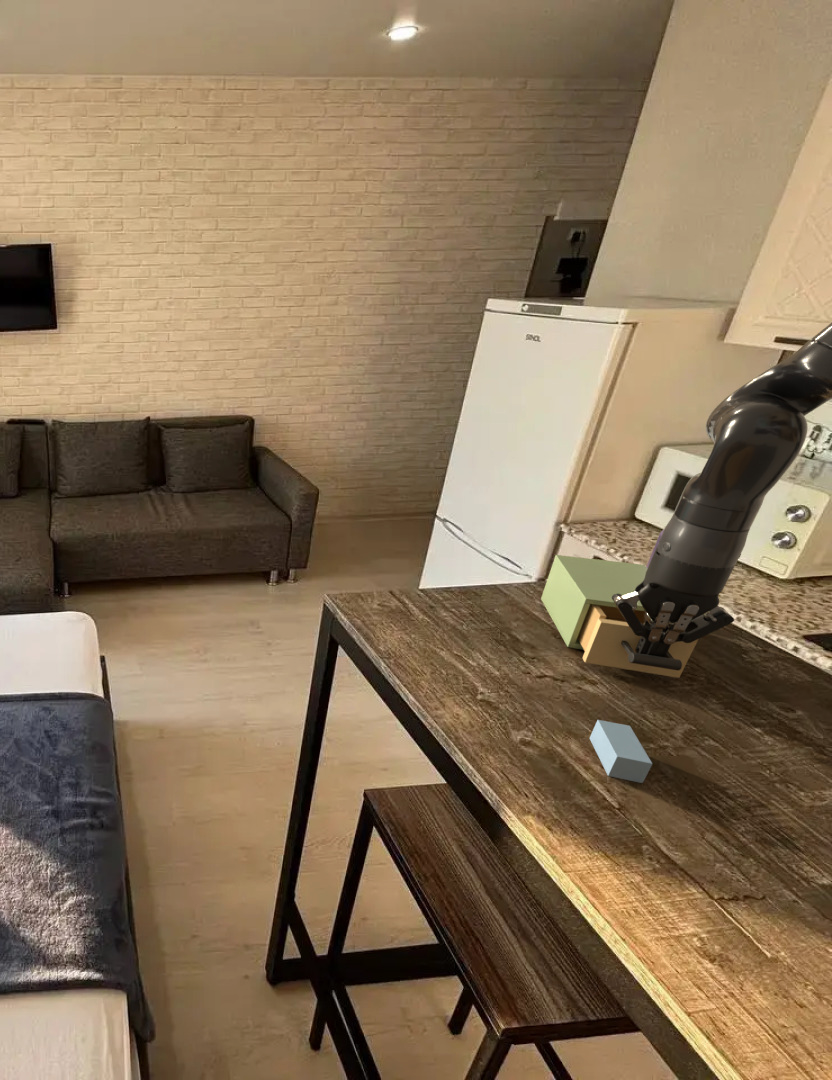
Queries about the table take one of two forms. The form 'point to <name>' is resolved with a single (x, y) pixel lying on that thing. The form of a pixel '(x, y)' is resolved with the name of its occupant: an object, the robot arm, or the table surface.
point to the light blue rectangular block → (620, 751)
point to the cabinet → (586, 590)
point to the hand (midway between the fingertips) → (646, 660)
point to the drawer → (626, 644)
